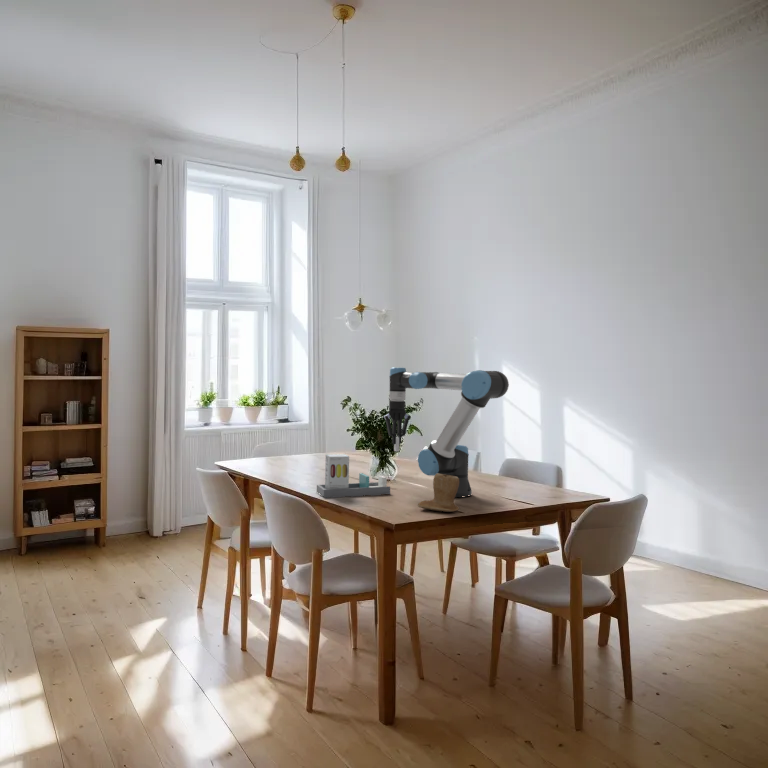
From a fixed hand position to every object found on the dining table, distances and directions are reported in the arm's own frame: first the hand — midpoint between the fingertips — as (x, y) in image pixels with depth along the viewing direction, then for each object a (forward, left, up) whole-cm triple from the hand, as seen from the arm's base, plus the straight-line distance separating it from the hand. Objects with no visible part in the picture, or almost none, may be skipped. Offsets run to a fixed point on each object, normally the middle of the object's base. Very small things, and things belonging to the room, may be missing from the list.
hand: (396, 451), depth 317 cm
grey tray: (0, +22, -19) cm, 29 cm away
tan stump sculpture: (-46, -3, -19) cm, 50 cm away
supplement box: (-1, +29, -18) cm, 34 cm away
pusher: (0, +11, -18) cm, 21 cm away
